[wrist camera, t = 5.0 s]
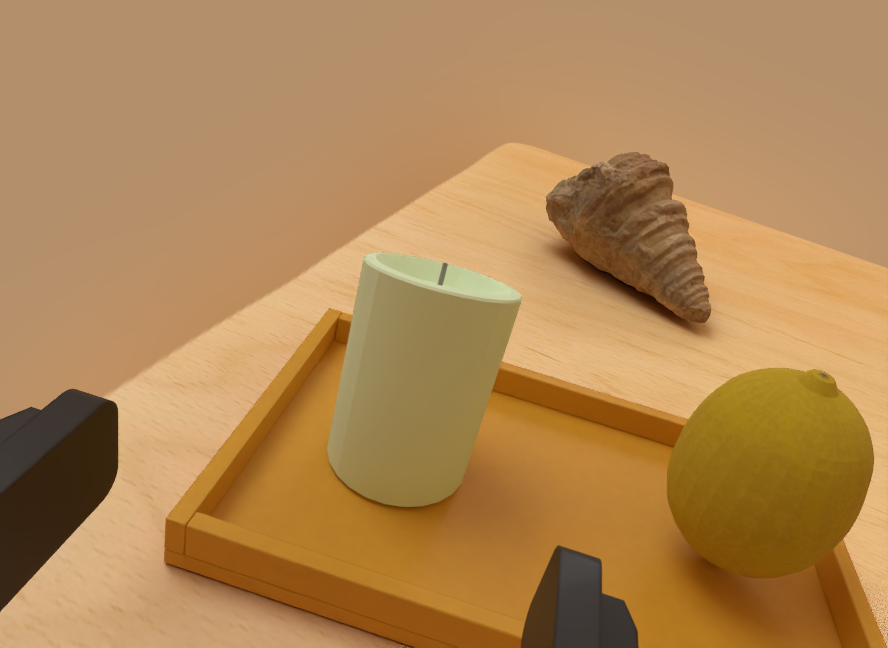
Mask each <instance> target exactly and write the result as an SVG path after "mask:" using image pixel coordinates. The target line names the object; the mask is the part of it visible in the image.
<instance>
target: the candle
mask: <svg viewBox="0 0 888 648" xmlns="http://www.w3.org/2000/svg"><path fill="white" fill-rule="evenodd" d="M521 301H522V296H521V295H520V294H519V293H518V291H516V290H515V289H513V288H512V287H510V286H508V285H506V284H504V283H502V282H500V281H497V280H495V279H492V278H490V277H487V276H485V275H482V274H479V273H477V272H474V271H470V270H467V269H464V268H461V267H458V266H454V265H450V264H447V263H443V262H439V261H435V260H430V259H425V258H420V257H415V256H409V255H402V254H395V253H383V252H381V253H370V254H367V255H365V256H364V259H363V265H362V270H361V275H360V280H359V285H358V290H357V296H356V301H355V306H354V311H353V316H352V322H351V327H350V332H349V337H348V342H347V348H346V353H345V358H344V363H343V368H342V373H341V379H340V384H339V389H338V394H337V399H336V405H335V410H334V415H333V420H332V425H331V431H330V436H329V441H328V446H327V452H328V458H329V462H330V464H331V466H332V468H333V469H334V471H335V473H336V475H337V476H338V477H339V478H340V479H341V480H342V481H343V482H344V483H345V484H346V485H347V486H348V487H350V488H351V489H353V490H354V491H356V492H358V493H359V494H361V495H363V496H364V497H366V498H369V499H372V500H374V501H377V502H380V503H383V504H387V505H393V506H400V507H419V506H426V505H430V504H433V503H437V502H440V501H442V500H443V499H445V498H447V497H448V496H450V495H452V494H453V493H454V492H455V491H456V489H457V488H458V487H459V486H460V485H461V483H462V480H463V477H464V474H465V471H466V468H467V465H468V462H469V459H470V456H471V453H472V450H473V447H474V444H475V441H476V438H477V435H478V432H479V429H480V426H481V422H482V419H483V416H484V413H485V410H486V407H487V404H488V401H489V398H490V395H491V392H492V389H493V386H494V383H495V380H496V377H497V374H498V371H499V368H500V365H501V362H502V358H503V355H504V352H505V349H506V346H507V343H508V340H509V337H510V334H511V331H512V328H513V325H514V322H515V319H516V316H517V313H518V310H519V307H520V304H521Z"/></svg>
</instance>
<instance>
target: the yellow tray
mask: <svg viewBox="0 0 888 648" xmlns="http://www.w3.org/2000/svg"><path fill="white" fill-rule="evenodd" d="M352 316H353V315H350V314H347V313H342V312H341V311H338V310H334V309H331V308H329V309H328V311H327V312H326V313H325V315H324V316H323V317H322V318H321V320H320V321H319V322H318V324H317V325H316V326H315V327H314V329H313V330H312V331H311V333H310V334H309V335H308V336H307V338H306V339H305V340H304V342H303V343H302V344H301V345H300V347H299V348H298V349H297V351H296V352H295V353H294V354H293V356H292V357H291V358H290V360H289V361H288V362H287V363H286V365H285V366H284V367H283V369H282V370H281V371H280V372H279V374H278V375H277V376H276V378H275V379H274V380H273V381H272V383H271V384H270V385H269V387H268V388H267V389H266V390H265V392H264V393H263V394H262V396H261V397H260V398H259V399H258V401H257V402H256V403H255V405H254V406H253V407H252V408H251V410H250V411H249V412H248V414H247V415H246V416H245V417H244V419H243V420H242V421H241V423H240V424H239V425H238V426H237V428H236V429H235V430H234V432H233V433H232V434H231V435H230V437H229V438H228V439H227V441H226V442H225V443H224V444H223V446H222V447H221V448H220V450H219V451H218V452H217V453H216V455H215V456H214V457H213V459H212V460H211V461H210V462H209V464H208V465H207V466H206V468H205V469H204V470H203V471H202V473H201V474H200V475H199V477H198V478H197V479H196V480H195V482H194V483H193V484H192V486H191V487H190V488H189V489H188V491H187V492H186V493H185V495H184V496H183V497H182V498H181V500H180V501H179V502H178V504H177V505H176V506H175V508H174V509H173V510H172V511H171V513H170V514H169V515H168V517H167V518H166V525H165V554H164V561H165V562H166V563H168V564H171V565H174V566H177V567H180V568H183V569H186V570H189V571H192V572H195V573H198V574H201V575H204V576H207V577H210V578H212V579H215V580H218V581H221V582H224V583H227V584H230V585H233V586H236V587H239V588H242V589H245V590H248V591H251V592H254V593H257V594H259V595H262V596H265V597H268V598H271V599H274V600H277V601H280V602H283V603H286V604H289V605H292V606H295V607H298V608H301V609H304V610H306V611H309V612H312V613H315V614H318V615H321V616H324V617H327V618H330V619H333V620H336V621H339V622H342V623H345V624H348V625H351V626H353V627H356V628H359V629H362V630H365V631H368V632H371V633H374V634H377V635H380V636H383V637H386V638H389V639H392V640H395V641H398V642H400V643H403V644H406V645H409V646H412V647H415V648H521V640H522V634H523V629H524V625H525V621H526V617H527V613H528V610H529V607H530V604H531V602H532V599H533V597H534V595H535V593H536V590H537V588H538V586H539V583H540V581H541V579H542V577H543V574H544V572H545V570H546V568H547V565H548V563H549V561H550V559H551V556H552V554H553V552H554V550H555V548H556V547H557V546H558V545H560V546H563V547H566V548H569V549H572V550H575V551H578V552H581V553H584V554H588V555H591V556H594V557H597V558H600V559H601V562H602V593H603V594H606V595H609V596H612V597H615V598H618V599H621V600H624V601H625V603H626V605H627V608H628V610H629V612H630V614H631V617H632V619H633V621H634V623H635V626H636V628H637V630H638V646H639V648H887V647H886V644H885V642H884V640H883V637H882V635H881V632H880V630H879V627H878V625H877V622H876V620H875V617H874V615H873V612H872V610H871V607H870V605H869V603H868V600H867V598H866V595H865V593H864V590H863V588H862V585H861V583H860V580H859V578H858V575H857V573H856V570H855V568H854V565H853V563H852V561H851V558H850V556H849V553H848V551H847V548H846V546H845V543H844V541H843V539H842V541H841V542H840V543H839V544H838V545H837V546H836V547H835V548H834V549H832V550H831V551H830V552H829V553H828V554H826V555H825V556H824V557H823V558H822V559H820V560H819V561H818V562H817V563H815V564H814V565H812V566H811V567H809V568H807V569H805V570H803V571H800V572H797V573H794V574H790V575H786V576H782V577H778V578H751V577H745V576H741V575H737V574H733V573H731V572H728V571H726V570H724V569H721V568H719V567H718V566H716V565H713V564H711V563H709V562H708V561H706V560H705V558H704V557H702V556H701V555H700V554H699V553H698V552H696V551H695V550H694V549H693V548H692V547H691V545H690V544H689V543H688V542H687V541H686V540H685V538H684V537H683V535H682V533H681V532H680V530H679V529H678V527H677V525H676V524H675V521H674V518H673V515H672V512H671V510H670V507H669V504H668V498H667V471H668V465H669V461H670V457H671V454H672V451H673V448H674V446H675V444H676V442H677V440H678V438H679V436H680V434H681V432H682V430H683V428H684V426H685V424H686V423H687V421H688V419H685V418H682V417H678V416H675V415H672V414H669V413H666V412H662V411H659V410H656V409H653V408H649V407H646V406H643V405H640V404H637V403H633V402H630V401H627V400H624V399H620V398H617V397H614V396H611V395H608V394H604V393H601V392H598V391H595V390H591V389H588V388H585V387H582V386H579V385H575V384H572V383H569V382H566V381H563V380H559V379H556V378H553V377H550V376H546V375H543V374H540V373H537V372H534V371H530V370H527V369H524V368H521V367H517V366H514V365H511V364H508V363H505V362H501V365H500V368H499V371H498V374H497V377H496V380H495V383H494V386H493V389H492V392H491V395H490V398H489V401H488V404H487V407H486V410H485V413H484V416H483V419H482V422H481V426H480V429H479V432H478V435H477V438H476V441H475V444H474V447H473V450H472V453H471V456H470V459H469V462H468V465H467V468H466V471H465V474H464V477H463V480H462V483H461V485H460V486H459V487H458V488H457V489H456V491H455V492H454V493H453V494H452V495H450V496H448V497H447V498H445V499H443V500H442V501H440V502H437V503H433V504H430V505H426V506H419V507H400V506H393V505H387V504H383V503H380V502H377V501H374V500H372V499H369V498H366V497H364V496H363V495H361V494H359V493H358V492H356V491H354V490H353V489H351V488H350V487H348V486H347V485H346V484H345V483H344V482H343V481H342V480H341V479H340V478H339V477H338V476H337V475H336V473H335V471H334V469H333V468H332V466H331V464H330V462H329V458H328V452H327V446H328V441H329V436H330V431H331V425H332V420H333V415H334V410H335V405H336V399H337V394H338V389H339V384H340V379H341V373H342V368H343V363H344V358H345V353H346V348H347V342H348V337H349V332H350V327H351V322H352Z"/></svg>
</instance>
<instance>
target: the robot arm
mask: <svg viewBox="0 0 888 648" xmlns="http://www.w3.org/2000/svg"><path fill="white" fill-rule="evenodd" d="M117 470H118V408H117V405H116V403H115V402H113V401H110V400H107V399H104V398H101V397H98V396H94V395H92V394H89V393H85V392H82V391H79V390H76V389H69V390H67V391H65V392H64V393H62V394H61V395H60V396H58V397H57V398H56V399H55V400H53V401H52V402H51V403H50V404H48V405H47V406H46V407H45V408H44V409H42V410H39V409H36V408H33V407H30V408H28V409H25V410H23V411H20V412H18V413H15V414H13V415H10V416H8V417H5V418H3V419H0V611H1V610H2V609H3V608H4V607H5V606H6V605H7V604H8V603H9V602H10V601H11V599H12V598H13V597H14V596H15V595H16V594H17V593H18V592H19V591H20V590H21V589H22V588H23V586H24V585H25V584H26V583H27V582H28V581H29V580H30V579H31V578H32V577H33V576H34V575H35V574H36V572H37V571H38V570H39V569H40V568H41V567H42V566H43V565H44V564H45V563H46V562H47V561H48V559H49V558H50V557H51V556H52V555H53V554H54V553H55V552H56V551H57V550H58V549H59V548H60V547H61V545H62V544H63V543H64V542H65V541H66V540H67V539H68V538H69V537H70V536H71V535H72V534H73V532H74V531H75V530H76V529H77V528H78V527H79V526H80V525H81V524H82V523H83V522H84V521H85V519H86V518H87V517H88V516H89V515H90V514H91V513H92V512H93V511H94V510H95V509H96V508H97V507H98V505H99V504H100V503H101V502H102V501H103V500H104V499H105V497H106V496H107V494H108V493H109V491H110V489H111V487H112V485H113V483H114V481H115V478H116V475H117ZM521 648H639V646H638V630H637V628H636V626H635V623H634V621H633V619H632V617H631V614H630V612H629V610H628V608H627V605H626V603H625V601H624V600H621V599H618V598H615V597H612V596H609V595H606V594H603V593H602V562H601V559H600V558H597V557H594V556H591V555H588V554H584V553H581V552H578V551H575V550H572V549H569V548H566V547H563V546H560V545H558V546H557V547H556V548H555V550H554V552H553V554H552V556H551V559H550V561H549V563H548V565H547V568H546V570H545V572H544V574H543V577H542V579H541V581H540V583H539V586H538V588H537V590H536V593H535V595H534V597H533V599H532V602H531V604H530V607H529V610H528V613H527V617H526V621H525V625H524V629H523V634H522V640H521Z"/></svg>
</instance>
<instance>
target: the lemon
mask: <svg viewBox="0 0 888 648" xmlns="http://www.w3.org/2000/svg"><path fill="white" fill-rule="evenodd" d="M873 465H874V453H873V446H872V441H871V437H870V434H869V430H868V427H867V425H866V423H865V421H864V419H863V418H862V416H861V414H860V413H859V411H858V410H857V408H856V407H855V405H854V404H853V403H852V402H851V400H850V399H849V398H848V397H847V396H846V395H845V394H843V393H842V392H841V391H840V390H839V389H838V388H837V386H836V382H835V380H834V378H833V377H832V376H830V375H829V374H827V373H825V372H823V371H820V370H816V369H814V370H810V371H807V372H804V371H799V370H794V369H789V368H767V369H760V370H755V371H751V372H747V373H744V374H740V375H738V376H736V377H734V378H732V379H730V380H729V381H728V382H726V383H725V384H723V385H722V386H720V387H719V388H718V389H716V390H715V391H714V392H713V393H711V394H710V395H709V396H708V397H707V398H706V399H705V400H704V401H703V402H702V403H701V404H700V405H699V407H698V408H697V409H696V410H695V411H694V413H693V414H692V415H691V417H690V418H689V420H688V421H687V423H686V424H685V426H684V428H683V430H682V432H681V434H680V436H679V438H678V440H677V442H676V444H675V446H674V448H673V451H672V454H671V457H670V461H669V465H668V471H667V498H668V504H669V507H670V510H671V512H672V515H673V518H674V521H675V524H676V525H677V527H678V529H679V530H680V532H681V533H682V535H683V537H684V538H685V540H686V541H687V542H688V543H689V544H690V545H691V547H692V548H693V549H694V550H695V551H696V552H698V553H699V554H700V555H701V556H702V557H704V558H705V560H706V561H708V562H709V563H711V564H713V565H716V566H718V567H719V568H721V569H724V570H726V571H728V572H731V573H733V574H737V575H741V576H745V577H751V578H778V577H782V576H786V575H790V574H794V573H797V572H800V571H803V570H805V569H807V568H809V567H811V566H812V565H814V564H815V563H817V562H818V561H819V560H820V559H822V558H823V557H824V556H825V555H826V554H828V553H829V552H830V551H831V550H832V549H834V548H835V547H836V546H837V545H838V544H839V543H840V542H841V541H842V539H843V538H844V537H845V536H846V534H847V533H848V532H849V530H850V529H851V527H852V526H853V524H854V523H855V521H856V519H857V517H858V515H859V513H860V510H861V508H862V505H863V503H864V500H865V497H866V494H867V491H868V488H869V484H870V481H871V477H872V473H873Z"/></svg>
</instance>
